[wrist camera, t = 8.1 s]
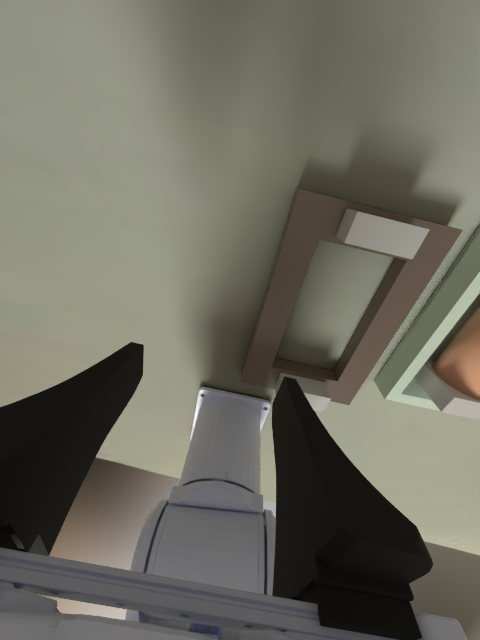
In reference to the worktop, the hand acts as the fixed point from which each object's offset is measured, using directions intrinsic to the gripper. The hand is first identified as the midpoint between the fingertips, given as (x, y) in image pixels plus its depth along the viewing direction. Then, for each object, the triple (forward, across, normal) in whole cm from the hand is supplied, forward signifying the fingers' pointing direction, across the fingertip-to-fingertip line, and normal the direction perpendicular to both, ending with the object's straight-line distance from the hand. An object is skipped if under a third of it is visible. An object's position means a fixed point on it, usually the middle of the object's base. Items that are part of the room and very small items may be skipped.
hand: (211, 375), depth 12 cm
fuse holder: (+10, -8, 0) cm, 13 cm away
